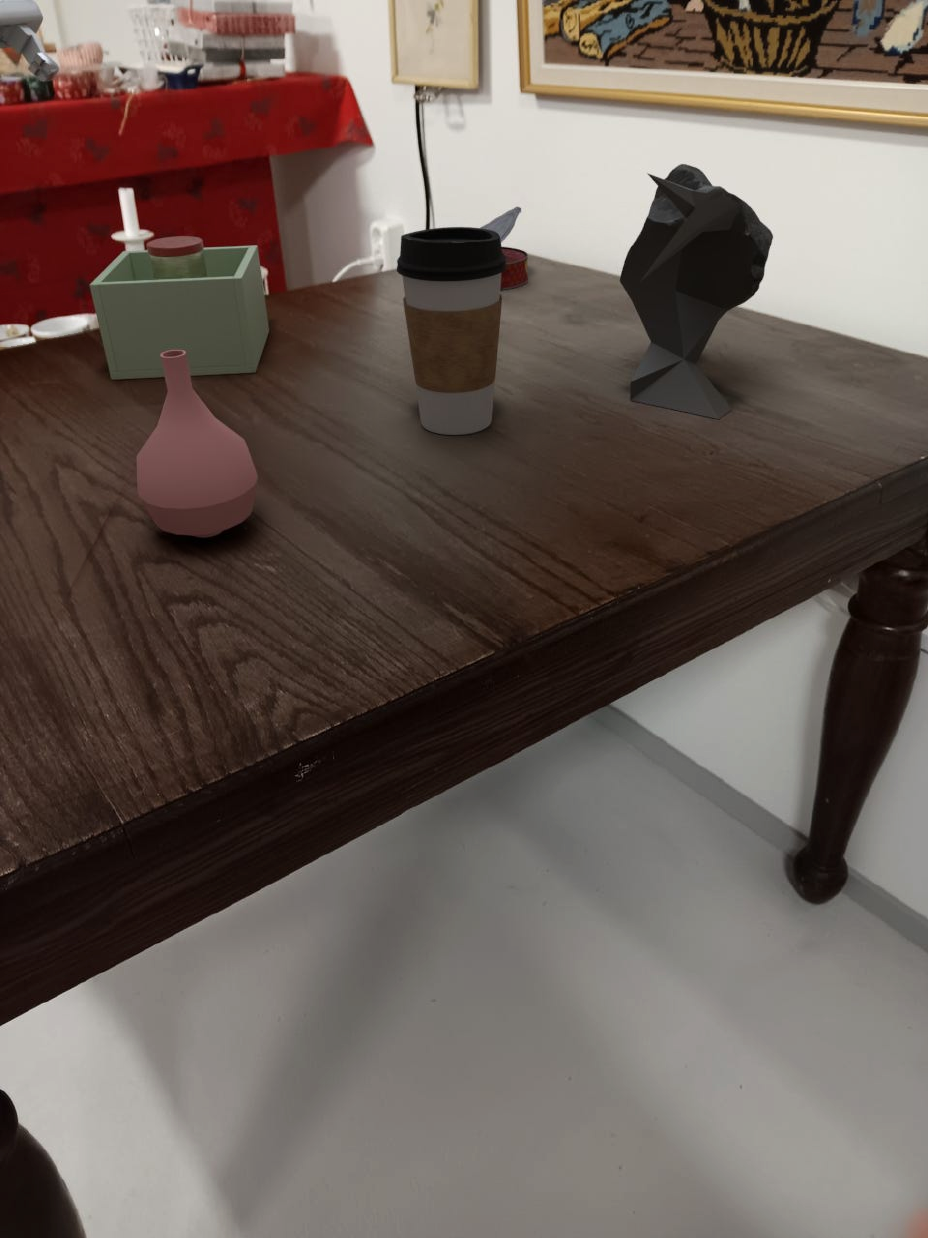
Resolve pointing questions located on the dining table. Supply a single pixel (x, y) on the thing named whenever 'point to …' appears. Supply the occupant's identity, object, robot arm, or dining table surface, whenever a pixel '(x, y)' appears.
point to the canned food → (510, 251)
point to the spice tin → (177, 258)
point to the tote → (182, 314)
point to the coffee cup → (453, 323)
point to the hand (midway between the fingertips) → (24, 80)
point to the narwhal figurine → (690, 284)
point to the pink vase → (193, 463)
